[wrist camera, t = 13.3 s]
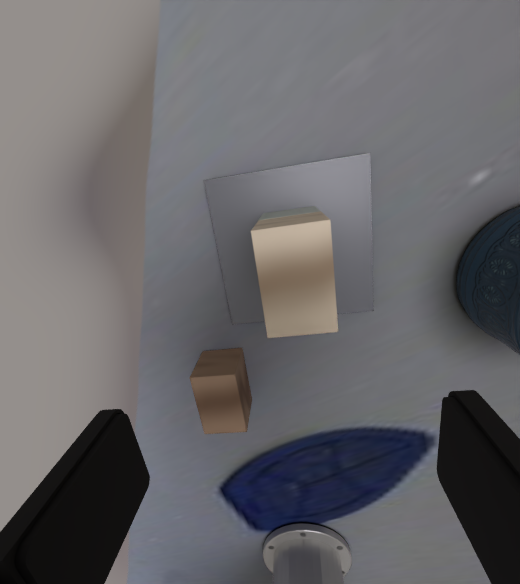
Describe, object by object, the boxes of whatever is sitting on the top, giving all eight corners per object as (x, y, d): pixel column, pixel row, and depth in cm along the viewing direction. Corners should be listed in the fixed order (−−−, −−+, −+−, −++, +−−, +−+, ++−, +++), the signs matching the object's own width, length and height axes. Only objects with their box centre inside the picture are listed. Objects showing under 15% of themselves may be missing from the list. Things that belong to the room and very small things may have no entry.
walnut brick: (252, 398, 35) (246, 431, 31) (215, 401, 36) (204, 433, 31) (242, 347, 33) (234, 374, 28) (203, 350, 34) (189, 377, 29)
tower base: (370, 305, 30) (390, 335, 24) (234, 319, 32) (222, 350, 26) (366, 154, 25) (390, 145, 19) (207, 180, 27) (185, 179, 21)
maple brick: (328, 302, 23) (338, 331, 19) (271, 307, 24) (267, 338, 19) (320, 211, 21) (330, 219, 16) (258, 220, 22) (250, 230, 17)
